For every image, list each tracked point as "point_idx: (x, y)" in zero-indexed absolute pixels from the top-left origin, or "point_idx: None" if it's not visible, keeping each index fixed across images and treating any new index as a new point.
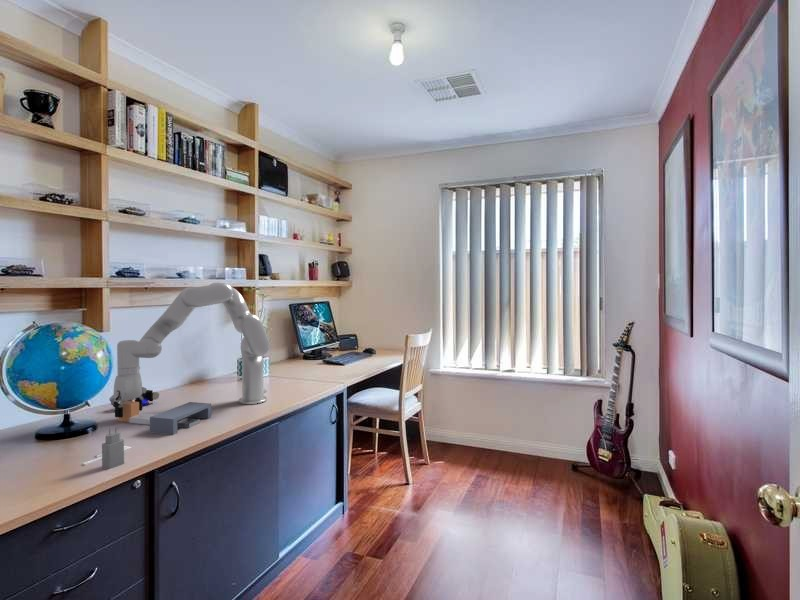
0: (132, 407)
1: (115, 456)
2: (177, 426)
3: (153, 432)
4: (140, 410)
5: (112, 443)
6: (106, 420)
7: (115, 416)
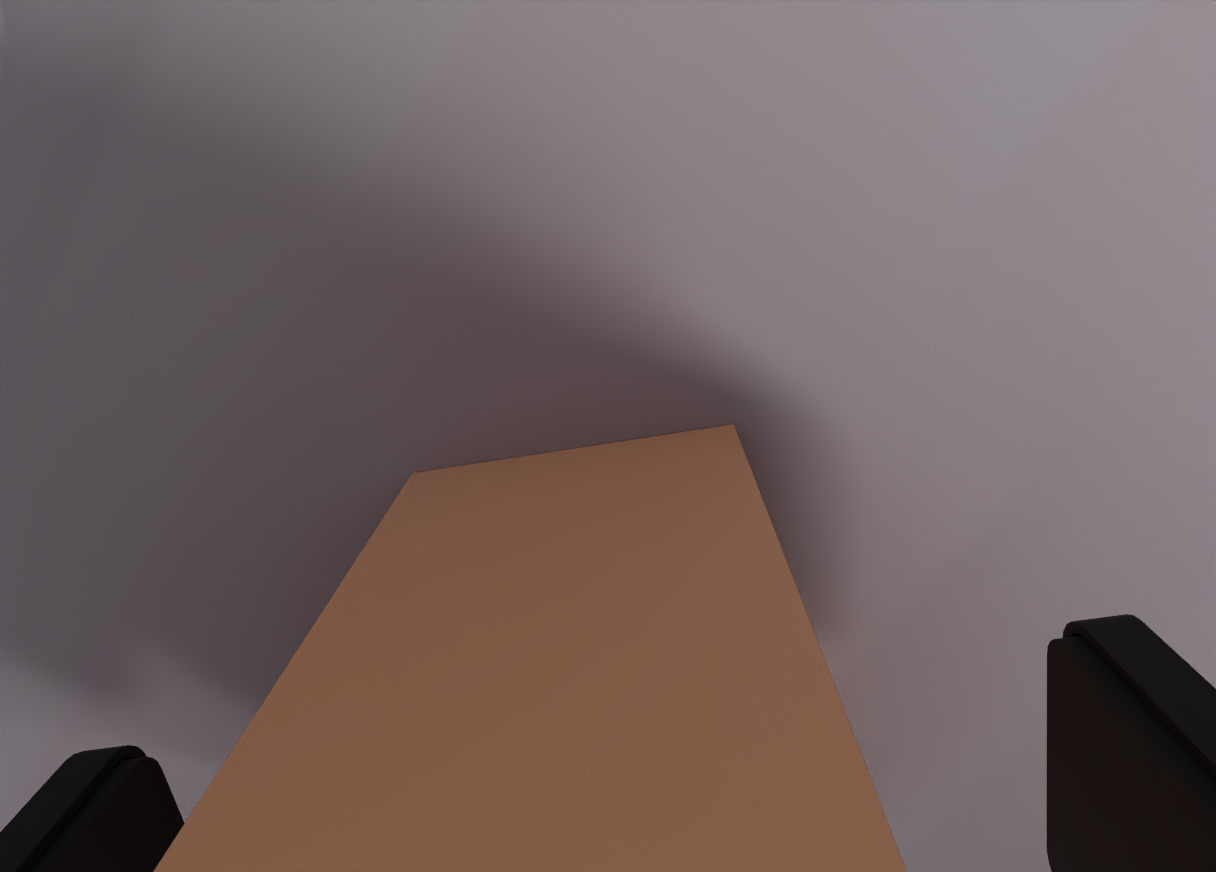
0: None
1: None
2: None
3: None
4: (1064, 840)
5: None
6: (232, 39)
7: (87, 768)
